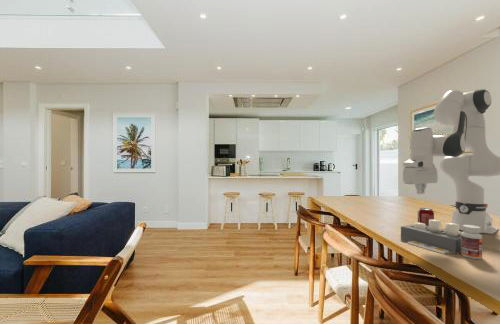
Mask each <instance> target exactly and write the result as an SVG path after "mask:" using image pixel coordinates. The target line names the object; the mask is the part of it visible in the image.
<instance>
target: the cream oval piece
mask: <svg viewBox="0 0 500 324" xmlns="http://www.w3.org/2000/svg"><path fill="white" fill-rule="evenodd" d="M413 224H414V227H415V228H419V229H425V224H424V223H418V221H417V222H413Z"/></svg>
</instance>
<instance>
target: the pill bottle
mask: <svg viewBox="0 0 500 324" xmlns="http://www.w3.org/2000/svg"><path fill="white" fill-rule="evenodd" d="M463 230H464V231H463ZM463 230H462V232H460V233H461V253H460V254H461V255H462V256H463V257H465V258H468V259H472V260H473V259H474V260H481V259H483V235H482V233H480V232H481V228H480V227H478V226H474V225H463Z"/></svg>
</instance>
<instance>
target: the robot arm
mask: <svg viewBox="0 0 500 324" xmlns="http://www.w3.org/2000/svg"><path fill="white" fill-rule="evenodd" d="M491 104H492V96H491V93H490V92H489V90H487V89H485V88H484V89H475V90H473V91H467V92H462V91H461V90H459V89H451V90H448V91H447V92H445V93H444V94H443V95H442V96H441V98H440V99H439V100H438V102H437V104H436V105H435V108H434V109H433V118H434V119H435V121H436V122H437V123H439V124H441V125H444V126H451V127H453V130H452V133H449V134H441V135H435V134H433V130H432V129H433V128H432V127H428V126H427V127H426V126H425V127H424V126H423V127H416V128H414V129H412V131H411V133H410V140H409V144H410V145H409V148H410V154H409V158H408V159H407V160H405V161H403V162H402V167H403V170H402V182H403V183H404V184H405V185H414V187H415V190H416V194H418V195H424V194H425V192H426V189H427V184H436V183H438V180H439V175H438V170H437V167H436V165H435V163H434V157H443V158H442V159H441V161H440V164H439V167H440V170H441V172H442V173H443V174H444V175H446V176H448V177H449V178H450V179H451V180H452V182H453V183H454V185H455V192H456V201H455V204H454V207H455V209H454V210H453V211H452V214H451V215H452V216H451V223H455V224H459V231H462V232H464V230H463V225H474V226H478V227H480V228H481V232H480V233H479V234H489V235H493V234H494V233H496V232H497V231H499V227H497V226H493V217H492V216H491V215H490V214H489V213H488V212H487V208H488V207H489V204H488V203H485V189H484V187H483V186H482V185H481V184H478V183H477V182H476V183H475V182H473V181H472V180H470V179H469V177H488V178H489V177H495V176H500V155H499V156H498V155H497V154H495V153H494V152H493V151H492V150H490V148H489V147H488V144H487V140H486V120H485V116H484V115H485V113H486V112H487V110H488V109H489V107H490V106H491ZM466 150H468V151H469V152H471V153H472V154H464V153H465V151H466Z"/></svg>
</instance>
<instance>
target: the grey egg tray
mask: <svg viewBox="0 0 500 324" xmlns="http://www.w3.org/2000/svg"><path fill="white" fill-rule="evenodd" d="M461 233H462V232H459V237H453V236H449V235H445V228H441V233H436V232H432V231H429V226H427V225H425V229H419V228H415V227H414V223H413V224H407V225H401V226H400V239H402V240H406V241H408V242H410V241H416V242H420V243H423V244H427V245H430V246H434V247H437V248H441V249H444V250H448V251H449V253H450V254H454V255H456V254H461Z"/></svg>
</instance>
